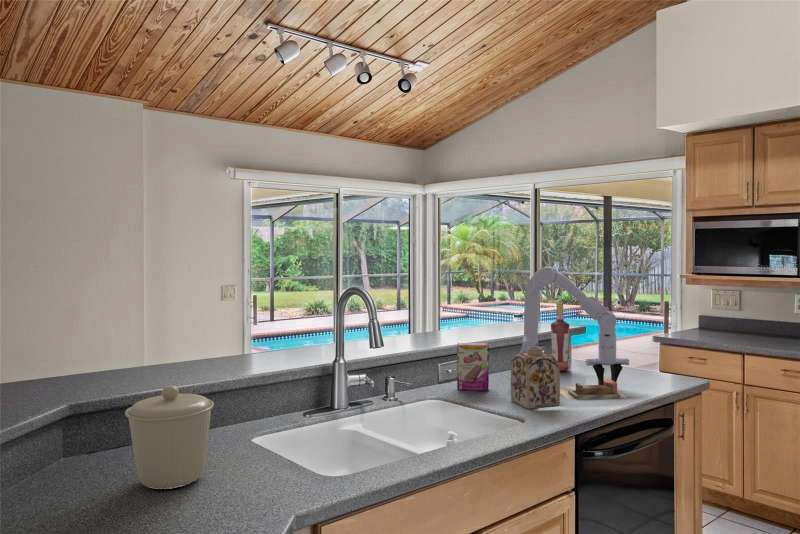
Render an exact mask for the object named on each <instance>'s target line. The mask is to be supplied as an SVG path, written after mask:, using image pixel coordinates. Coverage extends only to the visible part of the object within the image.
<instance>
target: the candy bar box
mask: <svg viewBox="0 0 800 534" xmlns="http://www.w3.org/2000/svg"><path fill="white" fill-rule="evenodd" d="M456 347H457V350H456V351H457V352H456V353H457V354H456V356H457V357H456V359H457V360H456V365H457V366H456V371H457V372H456V374H457V375H456V377H457V378H456V381H457V382H456V385H457V387H456V389H457V391H463V392H464V391H465V392H466V391H467V392H489V383H490V382H489V376H490V375H489V369H490V368H489V365H490V364H489V363H490V362H489V361H490V359H489V355H490V354H489V353H490V351H489V350H490V349H489V348H490V347H489V343H487V342H486V343H483V342H482V343H478V342H477V343H474V342H471V343H470V342H457V346H456Z"/></svg>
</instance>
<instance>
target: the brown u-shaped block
mask: <svg viewBox="0 0 800 534" xmlns="http://www.w3.org/2000/svg"><path fill="white" fill-rule="evenodd" d="M575 387H576V394H577V395H605V394H613V385H612V384H610V383H608V382H607V383H605V385H598V384H590V385H589V384H588V385H586V384H585V385H584V384H583V385H582V384H580V383H579V382H575Z"/></svg>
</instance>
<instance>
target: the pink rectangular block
mask: <svg viewBox="0 0 800 534" xmlns="http://www.w3.org/2000/svg"><path fill="white" fill-rule="evenodd" d="M607 382H608V383H610V384H612V385H613V391H614V392H617V391H618V383H617V382H614V381H613V380H611V378H609V377H604V385H605V383H607ZM597 385H599V381H598V380H597Z"/></svg>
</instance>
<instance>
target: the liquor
mask: <svg viewBox="0 0 800 534" xmlns="http://www.w3.org/2000/svg"><path fill="white" fill-rule="evenodd" d="M563 309H564V301H556V319H555V321H553V322H552V323H551V324H550V338H551V339H550V340H551V355H553V356H554V357H555V359H556V360H557V362H558V364H559V366H560V367H559V368H560V373H565V372H567V371H568V370H569V369H570V367H569V341H570V324H569V323H568V322H567V321H565V319H564V310H563Z"/></svg>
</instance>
